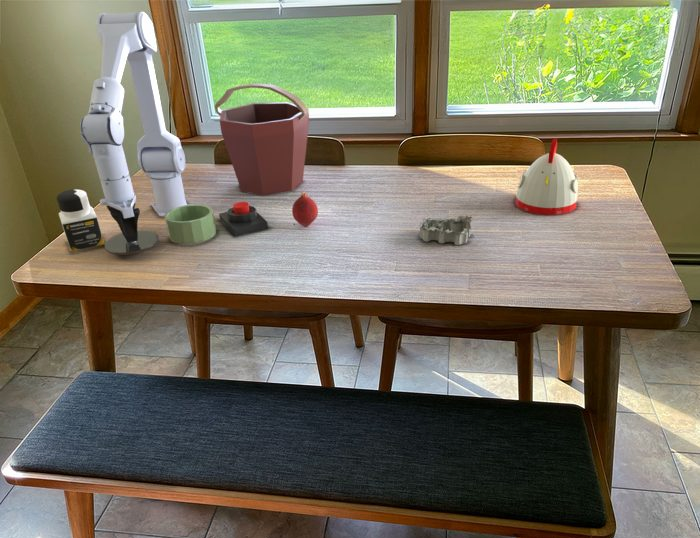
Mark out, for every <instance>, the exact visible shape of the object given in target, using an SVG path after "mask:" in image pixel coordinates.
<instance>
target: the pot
mask: <svg viewBox="0 0 700 538" xmlns="http://www.w3.org/2000/svg"><path fill="white" fill-rule="evenodd" d="M164 221H165V226H166V230H167V231H166V232H167V235H168V238H169V240H170V241H171V242H173V243H176V244H182V245H191V244H197V243H202V242H205V241H208V240H210V239H212V238H214V237H215V236H216V234H217V227H216V226H217V225H216V220H215V213H214V209H213V208H212V207H211V206H208V205H206V204H198V203H197V204H196V203H195V204H188V205H185V206H180V207H177V208H174V209H171V210H170V211H168V212H167V213H166V214H165V215H164Z"/></svg>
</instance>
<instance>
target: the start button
mask: <svg viewBox="0 0 700 538" xmlns="http://www.w3.org/2000/svg"><path fill="white" fill-rule="evenodd" d="M249 206H250V203H248V202H246V201H238V202H235V203H234V204H232V207H233V210H234V213H235V214H244V213H248V212H249V211H250V210H249Z"/></svg>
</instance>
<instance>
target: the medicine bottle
mask: <svg viewBox="0 0 700 538" xmlns="http://www.w3.org/2000/svg"><path fill="white" fill-rule="evenodd" d="M56 202H57V204H58V207H59V210H60V212H58V217H59V220H60V223H61V226H62V230H63V232H64V236H65V238H66V241H67V244H68V247H69V250H70V252H76V251H80V250H85V249H89V248H93V247H97V246H102V245H105V243H106V242H105V240H104V237H103V234H102V233H103V232H102V231H101V230H102V229H101V226H100V222H99V219H98V216H97V213H96V212H95V210H94V208H93V206H91V203H90V202H89V197H88V194H87V192H86V191H85V190H82V189H76V188H75V189H73V188H72V189H67V190H64V191H62V192H60V193H59V194H58V195H56Z"/></svg>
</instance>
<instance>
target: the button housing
mask: <svg viewBox="0 0 700 538" xmlns="http://www.w3.org/2000/svg"><path fill="white" fill-rule="evenodd" d="M249 210H250V211H249V212H248V213H244V214H235V213H234V210H233V206H232V207H231V208H228V209H227V211H224V212H220V213H219V212H218V217H219V221H220V223H222V225H223V226H224V227H226V229H227V230H228V231H229V232H230V233H231V234H232V235H233V236H234V237H239V236H242V235H243V236H244V235H248V234H252V233H255V232H260V231H264V230H268V229H269V225H268V221H267V220H266V219H265V218H264V217H263V215H261V214H260V213H258V211H257V208H256V207H255V206H253V205H249Z"/></svg>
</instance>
